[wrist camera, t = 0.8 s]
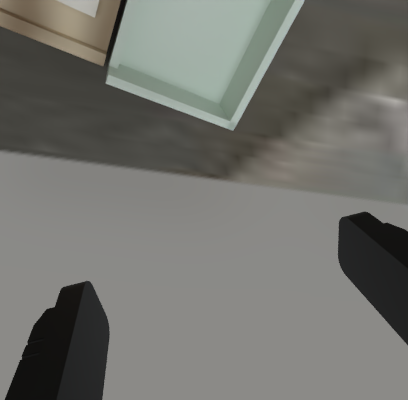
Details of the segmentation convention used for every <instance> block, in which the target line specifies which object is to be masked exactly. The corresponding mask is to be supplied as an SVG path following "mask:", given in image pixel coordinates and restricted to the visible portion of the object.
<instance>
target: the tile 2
mask: <svg viewBox="0 0 408 400" xmlns="http://www.w3.org/2000/svg"><path fill="white" fill-rule="evenodd" d="M56 1H59V2H61V3H63V4H65V5H68V6H70V7H72V8H74V9H76V10H79V11H81V12H83V13H85V14H88V15H90V16H92V17H94V18H95V16H96V13H97V8H98V4H99V0H56Z"/></svg>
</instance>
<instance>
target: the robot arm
mask: <svg viewBox="0 0 408 400" xmlns="http://www.w3.org/2000/svg"><path fill="white" fill-rule="evenodd" d="M338 243H339V244H338V259H339V263H340V266H341V268H342V270H343V272H344V274H345V275H346V276H347V277H348V278H349V279H350V280H351V282H352V283H353V284H354V285H355V286H356V287H357V288H358V290H359V291H360V292H361V293H362V294H363V295H364V296H365V297H366V298H367V300H368V301H369V302H370V303H371V304H372V305H373V306H374V308H376V310H377V311H378V312H379V313H380V314H381V315H382V317H383V318H384V319H385V320H386V321H387V322H388V323H389V324H390V326H391V327H392V328H393V329H394V330H395V331H396V332H397V334H398V335H399V336H400V337H401V338H402V339H403V340H404V341H405V342H406V344H407V345H408V231H406V230H405V229H402V228H399V227H397V226H394V225H392V224H389V223H382V222H381V221H379V220H378V219H376V218H375V217H374V216H372V215H371V214H370V213H368V212H361V213H358V214H353V215H350V216H346V217H342V218H341V219H340V221H339V241H338ZM108 344H109V324H108V319H107V316H106V314H105V312H104V309H103V308H102V305H101V303H100V301H99V298H98V296H97V295H96V292H95V290H94V288H93V285H92V284H91V282H89V281H85V282H82V283H78V284H74V285H70V286H66V287H63V288H62V289H61V291H60V293H59V296H58V299H57V302H56V305H55V307H54V308H49V309H47V310H46V311H45V312H44V313H43V314H42V316H41V317H40V319H39V320H38V321H37V322H36V323H35V325H34V326H33V329H32V331H31V334H30V337H29V339H28V345H26V347H25V349H24V352H23V354H22V360H20V362H19V365H18V367H17V370H16V373H15V375H14V377H13V380H12V383H11V385H10V388H9V390H8V393H7V395H6V398H5V400H102V396H103V388H104V379H105V370H106V362H107V352H108Z"/></svg>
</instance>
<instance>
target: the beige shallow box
mask: <svg viewBox="0 0 408 400" xmlns="http://www.w3.org/2000/svg"><path fill="white" fill-rule="evenodd" d="M120 1H121V0H99V4H98V8H97V13H96V16H95V18H94V17H92V16H90V15H88V14H85V13H83V12H81V11H79V10H76V9H74V8H72V7H70V6H68V5H65V4H63V3H61V2H59V1H56V0H0V26H1V27H4V28H7V29H9V30H12V31H14V32H17V33H19V34H22V35H24V36H27V37H29V38H32V39H35V40H37V41H40V42H42V43H45V44H47V45H50V46H52V47H55V48H58V49H60V50H63V51H65V52H68V53H70V54H73V55H75V56H78V57H80V58H83V59H86V60H88V61H91V62H93V63H96V64H98V65H101V66H104V62H105V58H106V54H107V49H108V45H109V42H110V38H111V34H112V31H113V27H114V23H115V20H116V16H117V12H118V9H119V5H120Z"/></svg>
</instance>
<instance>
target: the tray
mask: <svg viewBox="0 0 408 400" xmlns="http://www.w3.org/2000/svg"><path fill="white" fill-rule="evenodd" d="M304 1H305V0H126V1H125V5H124V8H123V12H122V15H121V19H120V23H119V26H118V30H117V33H116V37H115V40H114V44H113V48H112V51H111V55H110V58H109V62H108V65H107V74H106V84H108V85H111V86H114V87H116V88H119V89H122V90H125V91H127V92H130V93H133V94H135V95H138V96H141V97H143V98H146V99H149V100H151V101H154V102H157V103H160V104H162V105H165V106H168V107H170V108H173V109H176V110H178V111H181V112H184V113H187V114H189V115H192V116H195V117H197V118H200V119H203V120H205V121H208V122H211V123H213V124H216V125H219V126H222V127H224V128H227V129H230V130H232V131H233V130H234V129H235V127H236V125H237V123H238V121H239V119H240V118H241V116H242V114H243V112H244V110H245V108H246V107H247V105H248V103H249V101H250V99H251V98H252V96H253V94H254V92H255V90H256V88H257V87H258V85H259V83H260V81H261V79H262V77H263V76H264V74H265V72H266V70H267V68H268V66H269V65H270V63H271V61H272V59H273V57H274V55H275V54H276V52H277V50H278V48H279V46H280V45H281V43H282V41H283V39H284V37H285V35H286V34H287V32H288V30H289V28H290V26H291V24H292V23H293V21H294V19H295V17H296V15H297V13H298V12H299V10H300V8H301V6H302V4H303V3H304Z"/></svg>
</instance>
